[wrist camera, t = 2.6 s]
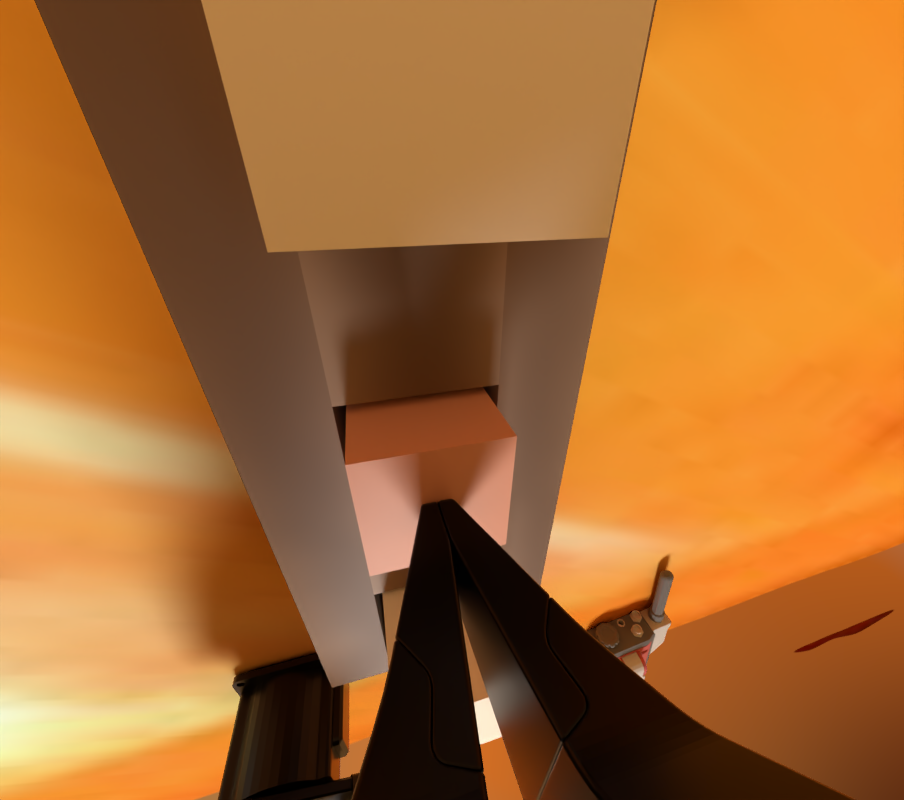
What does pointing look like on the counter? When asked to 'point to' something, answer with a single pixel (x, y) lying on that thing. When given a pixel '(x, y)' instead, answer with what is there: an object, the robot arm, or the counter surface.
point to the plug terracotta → (426, 467)
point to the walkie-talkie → (638, 630)
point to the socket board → (321, 316)
